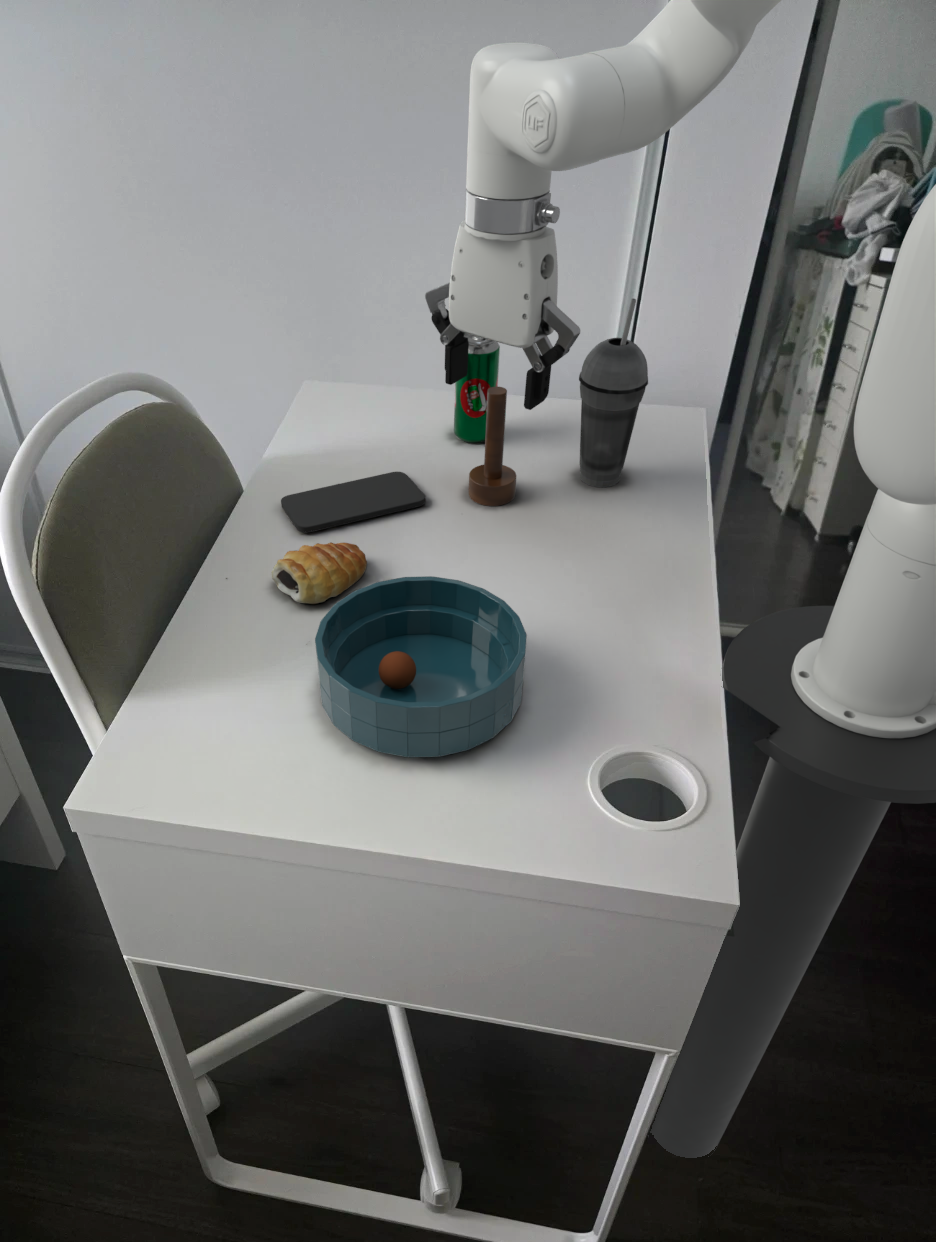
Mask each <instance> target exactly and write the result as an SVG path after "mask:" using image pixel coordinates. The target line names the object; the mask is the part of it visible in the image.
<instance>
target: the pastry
mask: <svg viewBox="0 0 936 1242" xmlns="http://www.w3.org/2000/svg"><path fill="white" fill-rule="evenodd" d="M367 564H368V561H367V557H366V554H365V552H363V551H362V549H360V547H359V546H358V545H357V544H355V543H350V542H337V543H334V542H330V541H329V542H328V543H315V544H314V545H308V544H304V545H302V546H300V547H299V549H298V550H288V551H287V552H286V553H285V554H284V556H283V557H282V558H279V559H278V560H277V561H276V563H275V565H274V566H273V569H272V571H271V579H272V580H273V581H274V583H275V584H276V587H277V589H278V590H279V591H280V592H282V593H284V594H286V595H287V596H289V597H291V599H293V600H294V601H295V602H297V603H301V604H309V605H317V604H319V603H325V602H326V600H328V599H330V598H332V597H333V598H335V597H337V596H338V595H340V594H341V595H342V593H343V592H344V591H345V590H348V589H349V588H350V587H351V586H353V585H354V584H355V583H357V582H358V581H359V580H360V579H361V578H362V577H363V575H364V574H365V572H366V570H367V566H368V565H367Z"/></svg>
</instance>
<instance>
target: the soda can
mask: <svg viewBox="0 0 936 1242" xmlns="http://www.w3.org/2000/svg"><path fill="white" fill-rule="evenodd" d="M464 337H467V338H468V341H469V350H468V373H467V376H465V377H464V378H462V379H460V380H459V381H457V382H455V383H454V403H453V404H454V405H453V407H454V408H453V409H454V411H453V433H454V435H455V436H456V437H457V438H458V439H459V440H460V441H463V442H465V443H469V444H470V443H471V444H477V443H478V444H479V443H485V436H486V415H487V393H488V389H489V388H491V387H499V369H500V355H501V353H500V352H501V345H500V343H499V342H495V341H492V340H488V339H485V338H481V337H478V336H475V335H471V334H468V333H465V334H464Z"/></svg>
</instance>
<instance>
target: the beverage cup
mask: <svg viewBox="0 0 936 1242" xmlns="http://www.w3.org/2000/svg"><path fill="white" fill-rule="evenodd" d="M636 303H637V299H636V298H635V297H634V298H631V299H630V303H629V306H628V310H627V315H626V320H625V323H624V327H623V332H622V336H621V337H611V338H607V339H604V340H602V341H601V342H599V343H598V344H596V345H595V346H594V347H593V348H592V349H591V350H590V351H589V352H588V354H587V355H586V357H585V359H584V361H583V363H582V366H581V371H580V372H579V375H578V381H579V393H580V399H581V403H580V405H581V406H580V407H581V409H580V436H579V437H580V439H579V442H580V443H579V479H580V480H581V482H583V483H584V484H585V485H588V486H591V487H595V488H608V487H609V488H610V487H613V486H615V485H617V484H618V483H619V482H620V478H621V475H622V473H623V472H622V471H623V469H624V466H625V462H626V460H627V459H626V458H627V454H628V450H629V446H630V443H631V438H632V435H633V430H634V426H635V423H636V419H637V414H638V411H639V407H640V404H641V402H642V400H643V398H644V394H645V392H646V388H647V386H648V385H649V376H648V375H649V374H648V373H649V370H648V369H649V368H648V361H647V359H646V356H645V354H644V352H643V351H642V349H641V348H640V347H639V346H638V344H636V343H635V342H634V341H632V340H630V339H628V337H629V332H630V329H631V324H632V320H633V316H634V312H635V307H636Z"/></svg>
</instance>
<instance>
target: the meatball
mask: <svg viewBox="0 0 936 1242" xmlns="http://www.w3.org/2000/svg"><path fill="white" fill-rule="evenodd" d="M415 675H416V665H415V662H414V660H413V659H412V658H411V657H410V656H409V655H408V654H406V653H404V652H400V651H395V652H391V653H389V654H387V655H386V656H385V657H384V658H383V659H382V660H381V662H380V665H379V676H380V678H381V680H382V682H383V683H384V684H385V685H387V686H388V687H390V688H393V689H402V688H405V687H407V686H408V685H410V684H411V683H412V681H413V680H414V678H415Z"/></svg>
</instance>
